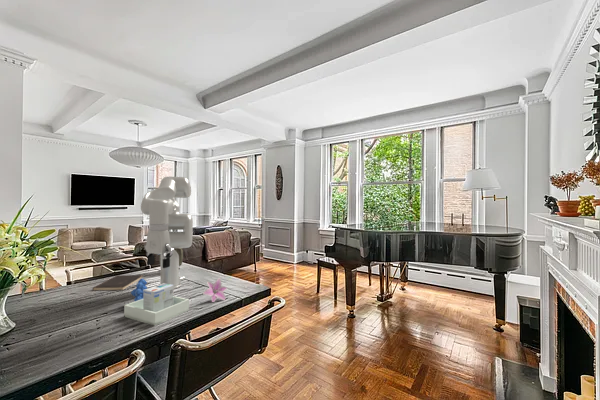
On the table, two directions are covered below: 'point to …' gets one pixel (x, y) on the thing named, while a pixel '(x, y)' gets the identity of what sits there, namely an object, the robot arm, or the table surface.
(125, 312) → the bin
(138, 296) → the grapes
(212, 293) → the lily
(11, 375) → the table surface
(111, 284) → the hardcover book
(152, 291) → the light bulb box
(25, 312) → the table surface
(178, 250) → the tabletop clock
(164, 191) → the robot arm
